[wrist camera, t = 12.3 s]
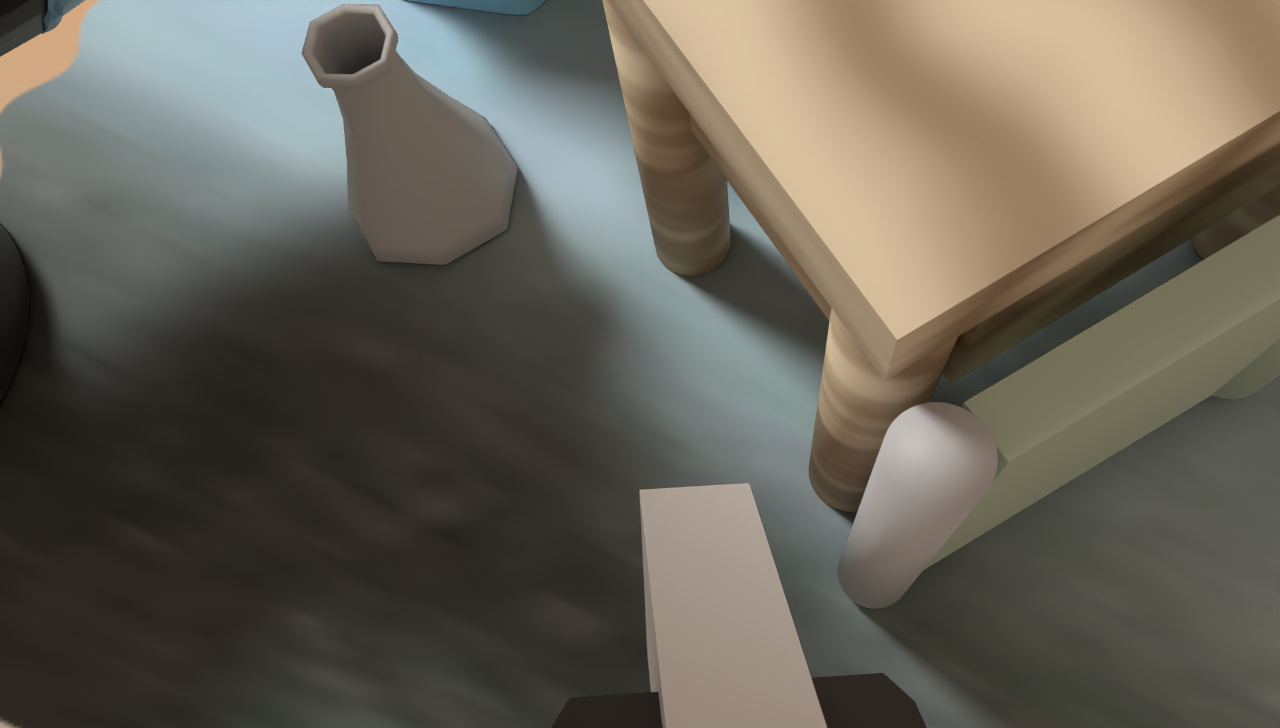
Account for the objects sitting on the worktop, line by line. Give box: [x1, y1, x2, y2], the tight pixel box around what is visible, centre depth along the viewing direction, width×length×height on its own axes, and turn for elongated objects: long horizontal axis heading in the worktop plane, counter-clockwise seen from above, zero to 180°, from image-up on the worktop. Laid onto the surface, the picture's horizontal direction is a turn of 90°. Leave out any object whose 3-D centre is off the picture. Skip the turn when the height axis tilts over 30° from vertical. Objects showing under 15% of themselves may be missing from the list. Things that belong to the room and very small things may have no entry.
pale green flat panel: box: [838, 215, 1280, 609], centre depth 30 cm, size 17×3×15 cm, turn 120°
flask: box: [302, 4, 518, 265], centre depth 40 cm, size 7×7×10 cm
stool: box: [602, 0, 1280, 512], centre depth 33 cm, size 20×14×18 cm
